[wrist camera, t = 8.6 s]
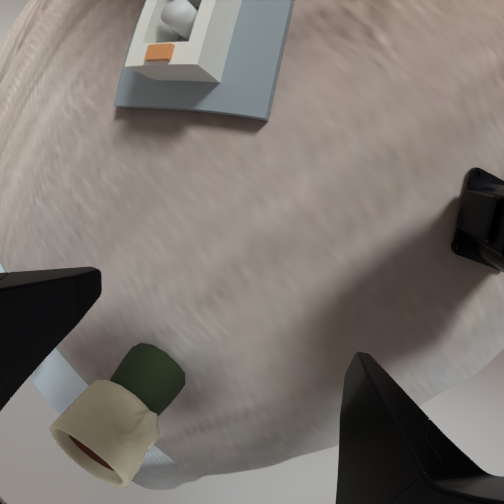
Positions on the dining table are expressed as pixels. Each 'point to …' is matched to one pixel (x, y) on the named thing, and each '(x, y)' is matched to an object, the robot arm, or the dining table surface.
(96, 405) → the character mug
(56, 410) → the dining table surface
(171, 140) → the dining table surface
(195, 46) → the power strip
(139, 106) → the stud board
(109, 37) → the dining table surface
